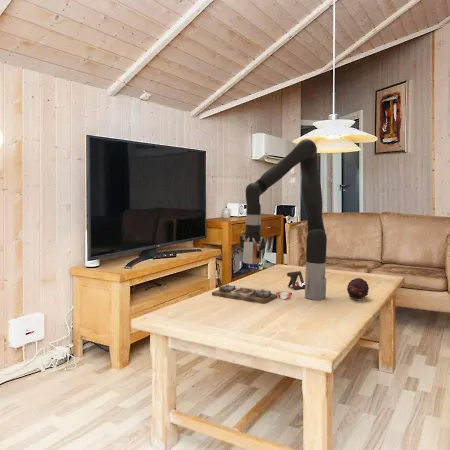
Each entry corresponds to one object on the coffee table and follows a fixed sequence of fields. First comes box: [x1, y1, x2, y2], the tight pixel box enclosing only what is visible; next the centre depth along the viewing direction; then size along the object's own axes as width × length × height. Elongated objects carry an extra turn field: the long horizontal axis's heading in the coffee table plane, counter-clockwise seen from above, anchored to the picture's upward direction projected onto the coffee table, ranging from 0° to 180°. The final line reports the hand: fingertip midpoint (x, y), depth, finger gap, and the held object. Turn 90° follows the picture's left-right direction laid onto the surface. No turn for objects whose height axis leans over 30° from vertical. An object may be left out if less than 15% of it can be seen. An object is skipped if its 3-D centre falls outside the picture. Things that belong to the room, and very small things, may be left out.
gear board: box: [211, 283, 278, 305], centre depth 204 cm, size 28×14×4 cm, turn 60°
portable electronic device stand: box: [286, 270, 305, 291], centre depth 224 cm, size 9×8×8 cm
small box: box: [242, 241, 262, 265], centre depth 211 cm, size 8×6×10 cm
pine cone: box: [346, 277, 370, 300], centre depth 204 cm, size 18×10×10 cm, turn 161°
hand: (252, 257), depth 211 cm, fingers closed on small box, 6 cm apart
